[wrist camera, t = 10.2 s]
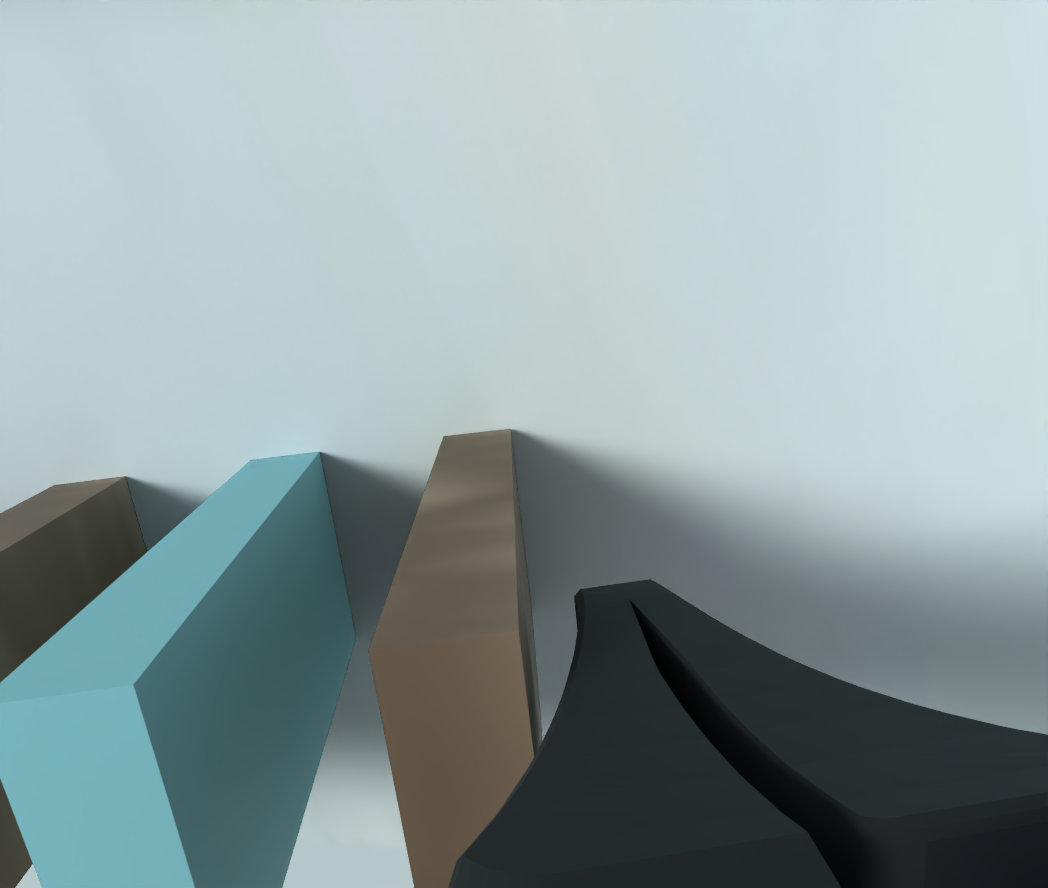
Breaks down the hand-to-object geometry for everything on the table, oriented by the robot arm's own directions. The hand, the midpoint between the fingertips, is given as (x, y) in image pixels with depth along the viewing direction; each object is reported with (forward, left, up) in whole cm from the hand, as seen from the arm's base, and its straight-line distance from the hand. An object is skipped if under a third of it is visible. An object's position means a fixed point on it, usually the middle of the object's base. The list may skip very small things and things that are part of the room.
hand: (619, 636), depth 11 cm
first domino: (+2, 0, -5) cm, 6 cm away
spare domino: (+7, 0, -6) cm, 9 cm away
